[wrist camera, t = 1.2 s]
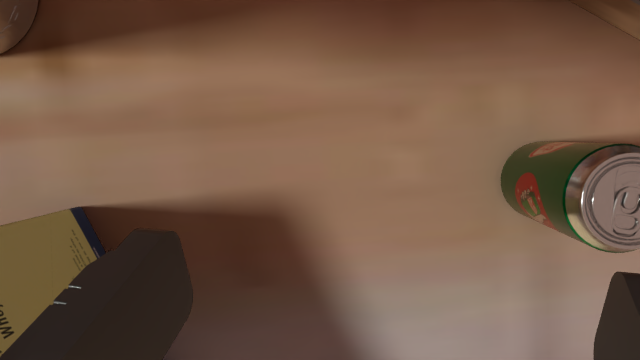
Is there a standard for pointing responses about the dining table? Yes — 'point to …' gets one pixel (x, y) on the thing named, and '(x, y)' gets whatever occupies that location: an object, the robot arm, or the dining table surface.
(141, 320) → the robot arm
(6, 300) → the protein box
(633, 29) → the square holder
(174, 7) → the dining table surface
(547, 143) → the soda can
